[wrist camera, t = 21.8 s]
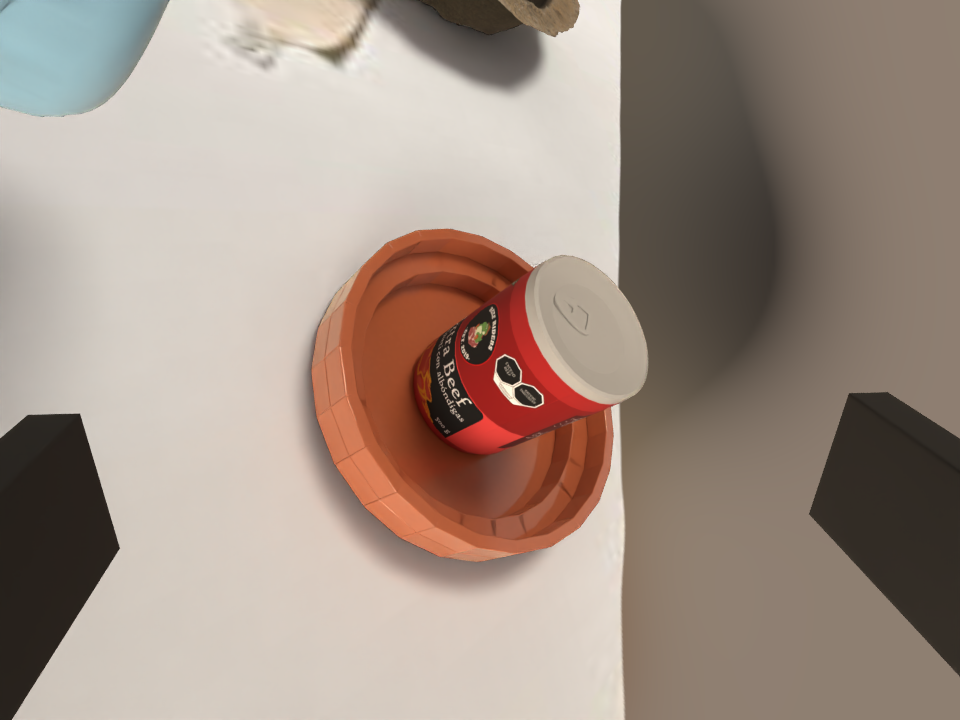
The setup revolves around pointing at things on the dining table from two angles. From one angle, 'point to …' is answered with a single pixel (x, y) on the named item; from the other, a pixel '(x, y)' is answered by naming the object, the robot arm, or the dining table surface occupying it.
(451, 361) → the canned food
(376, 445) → the bowl
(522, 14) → the stone bowl
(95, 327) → the dining table surface
